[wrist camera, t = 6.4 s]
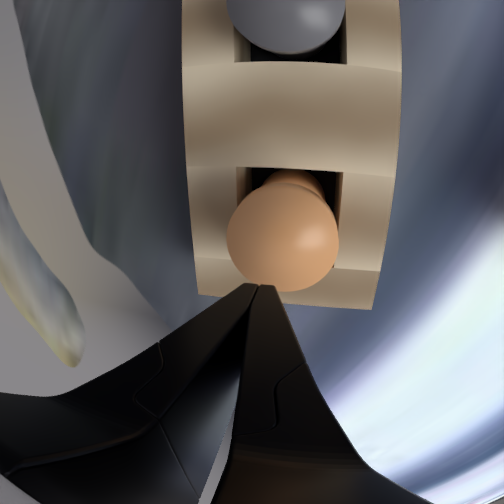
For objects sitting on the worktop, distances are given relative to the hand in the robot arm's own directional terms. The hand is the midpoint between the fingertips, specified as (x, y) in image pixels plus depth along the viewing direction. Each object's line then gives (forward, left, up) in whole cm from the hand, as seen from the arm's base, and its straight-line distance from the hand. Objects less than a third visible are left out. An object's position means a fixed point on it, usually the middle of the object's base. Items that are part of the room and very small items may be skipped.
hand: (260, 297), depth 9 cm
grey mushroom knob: (0, -9, -11) cm, 15 cm away
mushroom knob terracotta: (0, +1, -10) cm, 10 cm away
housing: (0, -4, -11) cm, 12 cm away
